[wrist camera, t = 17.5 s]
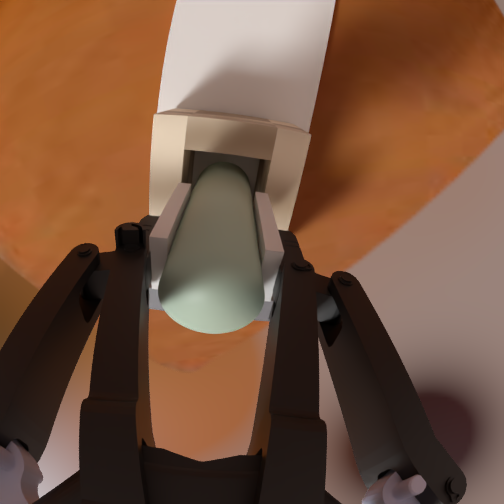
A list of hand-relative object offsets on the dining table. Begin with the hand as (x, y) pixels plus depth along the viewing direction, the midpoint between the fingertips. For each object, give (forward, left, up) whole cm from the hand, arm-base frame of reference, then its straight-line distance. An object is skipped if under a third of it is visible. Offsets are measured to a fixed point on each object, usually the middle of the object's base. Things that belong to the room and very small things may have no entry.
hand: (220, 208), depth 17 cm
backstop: (-6, 0, -9) cm, 10 cm away
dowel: (0, 0, -4) cm, 4 cm away
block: (0, 0, -9) cm, 9 cm away
